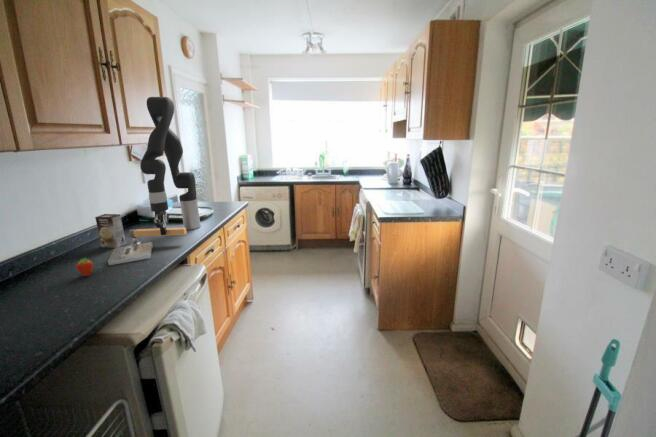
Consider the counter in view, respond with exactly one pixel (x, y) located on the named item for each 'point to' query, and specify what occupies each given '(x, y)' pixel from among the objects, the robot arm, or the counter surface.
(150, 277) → the counter surface
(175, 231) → the swing arm
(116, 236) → the coffee box
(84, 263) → the fruit
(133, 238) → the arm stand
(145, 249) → the plate
